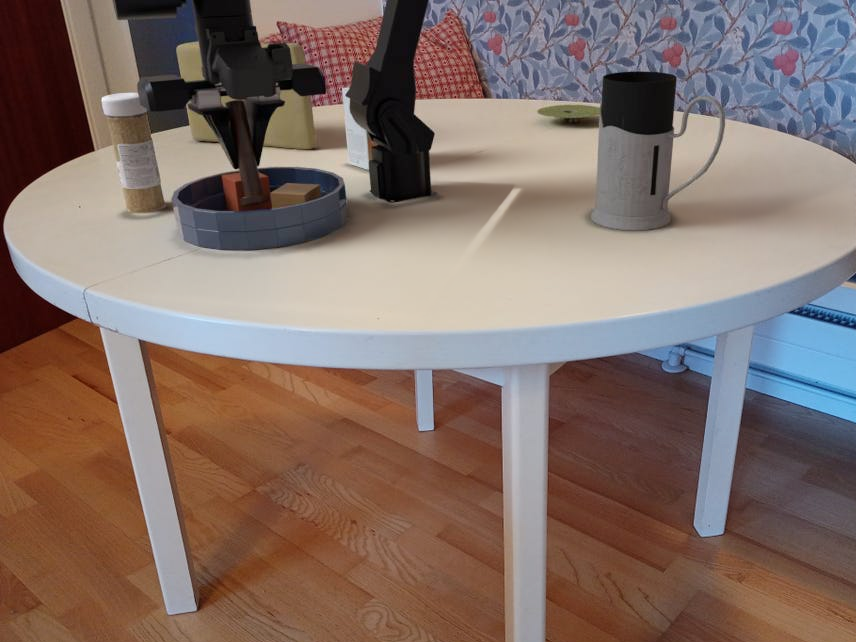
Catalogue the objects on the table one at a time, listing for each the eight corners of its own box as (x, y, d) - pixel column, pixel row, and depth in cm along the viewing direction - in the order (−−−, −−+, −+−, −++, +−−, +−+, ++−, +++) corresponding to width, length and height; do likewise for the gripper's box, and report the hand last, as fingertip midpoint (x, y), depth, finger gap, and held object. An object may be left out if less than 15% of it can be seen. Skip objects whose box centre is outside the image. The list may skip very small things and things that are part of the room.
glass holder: (618, 201, 97) (626, 68, 90) (730, 224, 88) (748, 79, 81) (575, 220, 91) (579, 78, 84) (691, 246, 82) (706, 91, 76)
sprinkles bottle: (133, 207, 99) (107, 92, 93) (171, 205, 100) (148, 90, 94) (122, 218, 95) (94, 99, 89) (162, 216, 96) (137, 97, 90)
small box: (369, 172, 112) (362, 92, 107) (347, 164, 116) (340, 87, 111) (417, 161, 116) (412, 84, 112) (394, 155, 120) (389, 80, 115)
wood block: (291, 217, 92) (286, 182, 90) (324, 219, 91) (320, 184, 89) (275, 229, 89) (269, 192, 87) (309, 231, 88) (304, 194, 86)
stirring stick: (273, 201, 93) (252, 101, 91) (265, 201, 90) (244, 97, 88) (245, 205, 93) (224, 106, 91) (237, 205, 90) (215, 102, 88)
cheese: (335, 142, 129) (325, 40, 122) (292, 156, 121) (278, 48, 114) (235, 130, 139) (220, 35, 132) (190, 141, 132) (171, 42, 125)
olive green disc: (611, 117, 141) (612, 105, 140) (593, 130, 132) (594, 118, 131) (549, 114, 145) (549, 102, 144) (527, 127, 136) (527, 114, 135)
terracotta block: (226, 209, 95) (221, 175, 94) (258, 203, 98) (254, 170, 96) (239, 216, 92) (234, 181, 91) (272, 211, 95) (268, 176, 93)
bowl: (314, 195, 102) (310, 159, 100) (374, 234, 88) (370, 193, 86) (164, 221, 94) (156, 182, 92) (203, 268, 80) (195, 224, 78)
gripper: (144, 25, 74) (176, 196, 81) (338, 14, 82) (352, 169, 89) (122, 19, 82) (153, 173, 89) (299, 9, 91) (315, 151, 98)
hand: (246, 167), depth 91 cm, fingers closed on stirring stick, 2 cm apart
